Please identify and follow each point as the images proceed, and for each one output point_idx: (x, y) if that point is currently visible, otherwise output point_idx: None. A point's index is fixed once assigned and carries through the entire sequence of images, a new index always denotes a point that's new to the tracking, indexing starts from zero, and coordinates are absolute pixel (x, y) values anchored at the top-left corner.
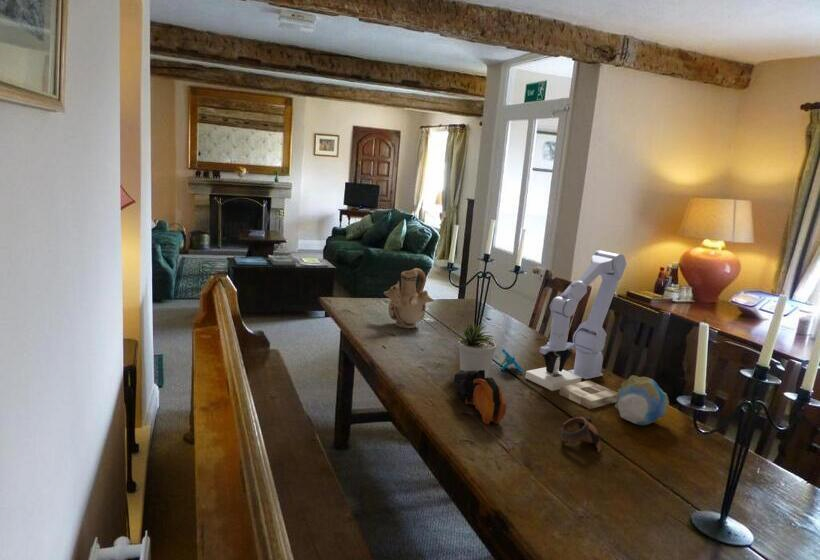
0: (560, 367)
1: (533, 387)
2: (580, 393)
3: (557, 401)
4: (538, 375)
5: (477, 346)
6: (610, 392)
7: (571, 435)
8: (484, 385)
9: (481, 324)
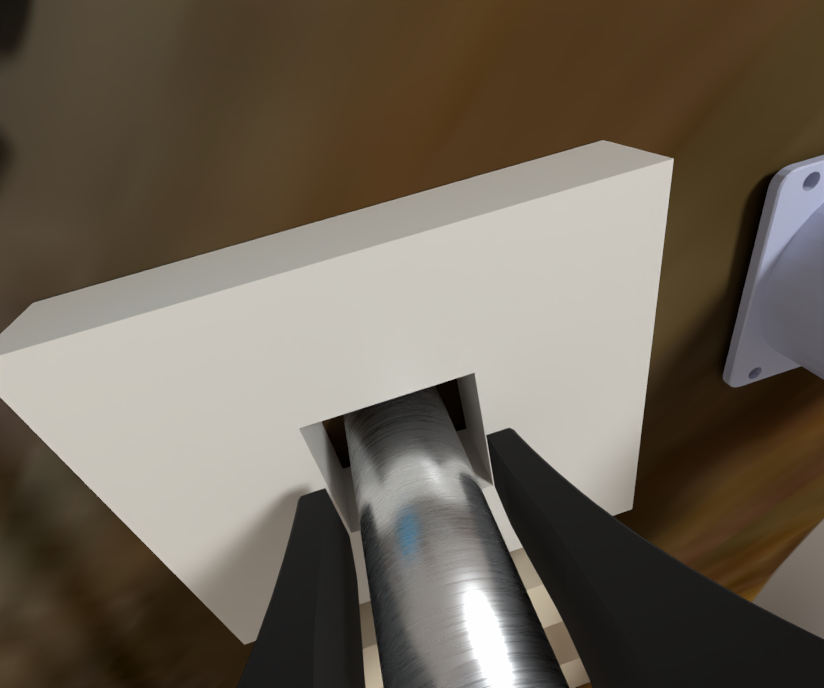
0: (517, 525)
1: (75, 533)
2: None
3: (202, 684)
4: (156, 508)
5: None
6: (576, 672)
7: None
8: None
9: None
